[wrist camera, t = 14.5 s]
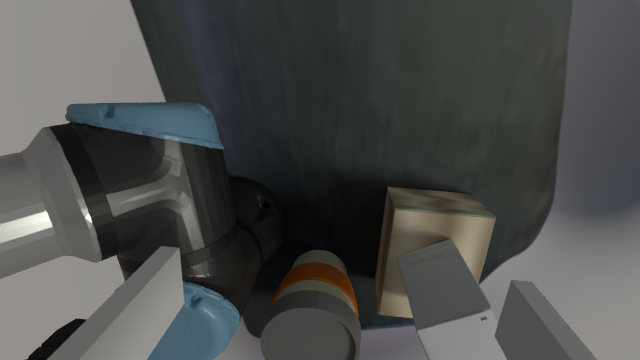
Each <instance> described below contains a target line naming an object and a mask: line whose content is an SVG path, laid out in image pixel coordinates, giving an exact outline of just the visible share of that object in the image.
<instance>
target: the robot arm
mask: <svg viewBox="0 0 640 360" xmlns="http://www.w3.org/2000/svg"><path fill="white" fill-rule="evenodd" d="M65 117H66V119H67V120H68V121H70V123H68V124H63V125H56V126H50V127H44V128H42V129H41V130H40V131H39V133H38V134H37V136H36V137H35V138H34V140H33V141H32V142H31V144H30V145H29V146H28V147H27V148H26V149H25V150H23V151H22V152H20V153H15V154H9V155H4V156H0V279H1V278H4V277H7V276H9V275H12V274H15V273H17V272H20V271H23V270H25V269H28V268H31V267H34V266H36V265H39V264H42V263H44V262H47V261H50V260H53V259H55V258H58V257H61V256H75V257H78V258H81V259H85V260H88V261H91V262H96V263H97V262H100V261H102V260H105V259H107V258H109V257H112V256H115V255H117V258H118V261H119V264H120V267H121V270H122V272H123V276H124V279H125V282H124V283H123V284H122V285H121V286H120V287H119V288H118V289H116V291H115V292H114V293H113V294H112V295H111V296H110V297H109V298H108V299H107V300H106V301H105V302H104V303H103V304H102V306H101V307H99V308H98V309H97V310H96V311H95V312H94V313H93V314H92V315H91V316H90V317H89V318H88V319H87V320H85V319H75V320H73V321H71V322H70V323H68V324H66V325H65V326H63V327H61V328H60V329H58V330H57V331H56V332H54V333H53V334H52V335H51V336H50V337H49V338H48V339H47V340H46V341H45V342H44V343H43V344H42V346H41V347H39V348H37V349H36V350H35V351H34V352H33V353H32V354H31V355H30V356H29V358H28V359H27V360H213V359H214V358H216V357H217V356H218V355H219V354H220V353H221V352H223V351H224V349H225V348H226V347H227V345H228V343H229V342H230V340H231V338H232V336H233V335H234V333H235V331H236V330H237V329H238V326H239V325H240V318H241V316H242V313H243V311H244V308H245V306H246V304H247V301H248V299H249V296H250V294H251V291H252V289H253V286H254V284H255V281H256V279H257V276H258V274H259V271H260V270H261V269H263V268H264V267H265V266H266V265H268V264H269V263H270V262H271V261H273V260H274V259H275V257H276V256H277V255H278V253H279V252H280V250H281V248H282V246H283V243H284V240H285V238H286V234H287V218H286V214H285V211H284V209H283V207H282V205H281V203H280V202H279V200H278V199H277V198H276V196H275V195H274V194H273V193H272V192H271V191H270V190H268V189H267V188H266V187H264V186H263V185H261V184H259V183H257V182H255V181H252V180H249V179H245V178H239V177H229V178H228V175H227V170H226V165H225V159H224V154H223V149H224V146H223V144H222V143H221V142H220V138H219V134H218V131H217V127H216V123H215V119H214V116H213V114H212V112H211V111H210V110H209V109H208V108H207V107H205V106H204V105H202V104H199V103H192V102H163V103H161V102H160V103H97V104H71V105H69V106H68V107H67V114H66V116H65ZM494 336H495V338H496V340H497V342H498V344H499V345H500V347H501V349H502V351H503V353H504V355H505V357H506V358H507V360H597V359H596V358H595V357H594V355H593V354H592V353H591V352H590V351H589V349H588V348H587V347H586V346H585V345H584V343H583V342H582V341H581V340H580V339H579V337H578V336H577V335H576V334H575V333H574V331H573V330H572V329H571V328H570V327H569V326H568V324H567V323H566V322H565V321H564V320H563V318H562V317H561V316H560V315H559V314H558V312H557V311H556V310H555V309H554V308H553V307H552V305H551V304H550V303H549V302H548V301H547V300H546V298H545V297H544V296H543V295H542V293H541V292H540V291H539V290H538V289H537V287H536V286H535V285H534V284H533V283H532V282H526V281H517V280H511V283H510V287H509V290H508V293H507V296H506V300H505V303H504V306H503V310H502V313H501V316H500V319H499V322H498V326H497V329H496V332H495V335H494Z"/></svg>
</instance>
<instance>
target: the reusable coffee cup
mask: <svg viewBox="0 0 640 360" xmlns="http://www.w3.org/2000/svg"><path fill="white" fill-rule="evenodd" d="M360 339H361V327H360V323H359V320H358V309H357V304H356V300H355V295H354V291H353V287H352V284H351V282H350V281H349V279H348V276H347V271H346V268H345V265H344V263H343V262H342V260H341V259H340V258H339V257H337V256H336V255H335V254H333V253H331V252H328V251H325V250H311V251H308V252H305V253H303V254H302V255H300V256H299V257H298V258H297V259H296V261H295V262H294V264H293V266H292V268H291V270H290V271H289V272H288V273H287V274H286V275H285V277H284V278H283V280H282V282H281V284H280V286H279V288H278V290H277V292H276V294H275V296H274V298H273V299H272V303H271V307H270V308H269V309H268V311H267V313H266V315H265V319H264V323H263V329H262V335H261V349H262V353H263V356H264V358H265V360H358V358H359V351H360Z"/></svg>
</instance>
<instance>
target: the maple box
mask: <svg viewBox="0 0 640 360" xmlns="http://www.w3.org/2000/svg"><path fill="white" fill-rule="evenodd" d="M495 220H496V216H495V215H494V214H493V213H490V212H489V211H488V210H487V209H486V208H485V207H484V206H483V205H482V204H481V203H480V202H479V201H478V200H477V199H476V198H475V197H474V196H473V194H467V193H455V192H444V191H432V190H420V189H408V188H396V187H388V189H387V196H386V203H385V210H384V217H383V224H382V231H381V238H380V245H379V252H378V260H377V267H376V274H375V285H376V293H377V301H378V306H377V311H378V314H379V315H388V316H398V317H407V318H413V316H412V312H411V308H410V304H409V300H408V296H407V293H406V289H405V285H404V281H403V277H402V274H401V270H400V266H399V262H398V256H400V255H403V254H406V253H409V252H412V251H415V250H418V249H421V248H424V247H427V246H430V245H433V244H436V243H439V242H442V241H445V240H448V239H453V241H454V243H455V245H456V247H457V248H458V250H459V252H460V253H461V255H462V257H463V259H464V260H465V262H466V264H467V266H468V267H469V269H470V271H471V272H472V274H473V276H474V278H475V279H476V281H477V283H479V279H480V276H481V272H482V268H483V264H484V261H485V257H486V253H487V249H488V246H489V242H490V238H491V235H492V231H493V227H494V223H495Z"/></svg>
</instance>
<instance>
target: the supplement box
mask: <svg viewBox="0 0 640 360" xmlns="http://www.w3.org/2000/svg"><path fill="white" fill-rule="evenodd" d="M398 262H399V266H400V270H401V274H402V277H403V281H404V285H405V289H406V293H407V296H408V300H409V304H410V308H411V312H412V316H413V319H414V323H415V327H416V332H417V334H418V337H419V339H420V341H421V343H422V346H423V348H424V350H425V352H426V355H427V357H428V359H429V360H507V358H506V357H505V355H504V353H503V351H502V349H501V347H500V345H499V344H498V342H497V340H496V338H495V336H494V335H495V332H496V329H497V326H498V324H497V321H496V318H495V315H494V312H493V309H492V307H491V305H490V304H489V302H488V300H487V298H486V296H485V295H484V293H483V291H482V290H481V288H480V286H479V284H478V283H477V281H476V279H475V278H474V276H473V274H472V272H471V271H470V269H469V267H468V266H467V264H466V262H465V260H464V259H463V257H462V255H461V253H460V252H459V250H458V248H457V247H456V245H455V243H454V241H453V239H448V240H445V241H442V242H439V243H436V244H433V245H430V246H427V247H424V248H421V249H418V250H415V251H412V252H409V253H406V254H403V255H400V256H398Z"/></svg>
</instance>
